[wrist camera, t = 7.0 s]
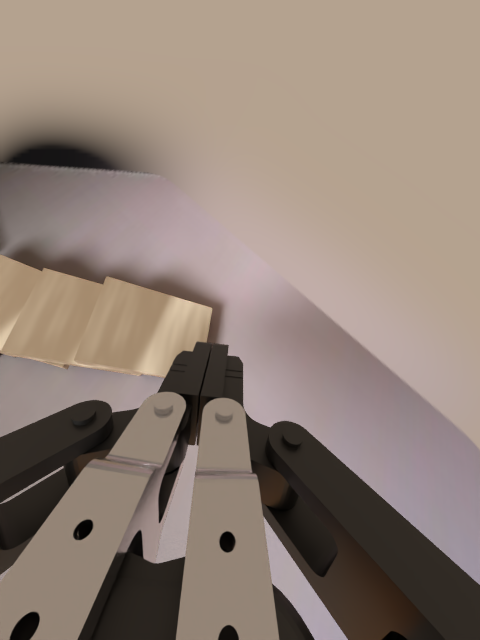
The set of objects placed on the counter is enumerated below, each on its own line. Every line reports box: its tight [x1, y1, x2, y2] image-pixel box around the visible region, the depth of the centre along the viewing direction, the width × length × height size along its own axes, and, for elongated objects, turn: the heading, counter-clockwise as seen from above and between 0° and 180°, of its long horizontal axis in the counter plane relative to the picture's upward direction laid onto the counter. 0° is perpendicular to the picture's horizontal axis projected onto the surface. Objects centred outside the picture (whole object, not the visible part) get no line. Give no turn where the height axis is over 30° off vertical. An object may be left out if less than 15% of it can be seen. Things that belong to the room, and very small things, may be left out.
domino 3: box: [74, 276, 212, 378], centre depth 17 cm, size 2×6×8 cm
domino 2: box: [1, 268, 141, 376], centre depth 17 cm, size 2×6×8 cm
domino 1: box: [0, 255, 69, 369], centre depth 17 cm, size 2×6×8 cm
